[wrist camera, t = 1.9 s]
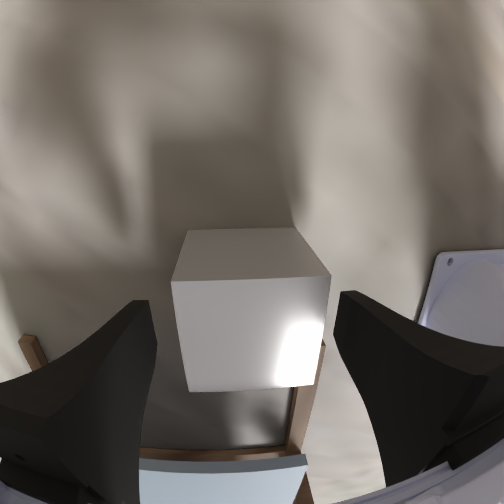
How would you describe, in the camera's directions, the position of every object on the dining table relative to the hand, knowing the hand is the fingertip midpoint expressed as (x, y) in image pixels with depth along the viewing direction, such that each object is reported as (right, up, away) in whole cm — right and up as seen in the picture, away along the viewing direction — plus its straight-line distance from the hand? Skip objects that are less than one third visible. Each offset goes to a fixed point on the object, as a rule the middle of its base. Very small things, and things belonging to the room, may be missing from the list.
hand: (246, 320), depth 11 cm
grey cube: (0, +1, +3) cm, 4 cm away
